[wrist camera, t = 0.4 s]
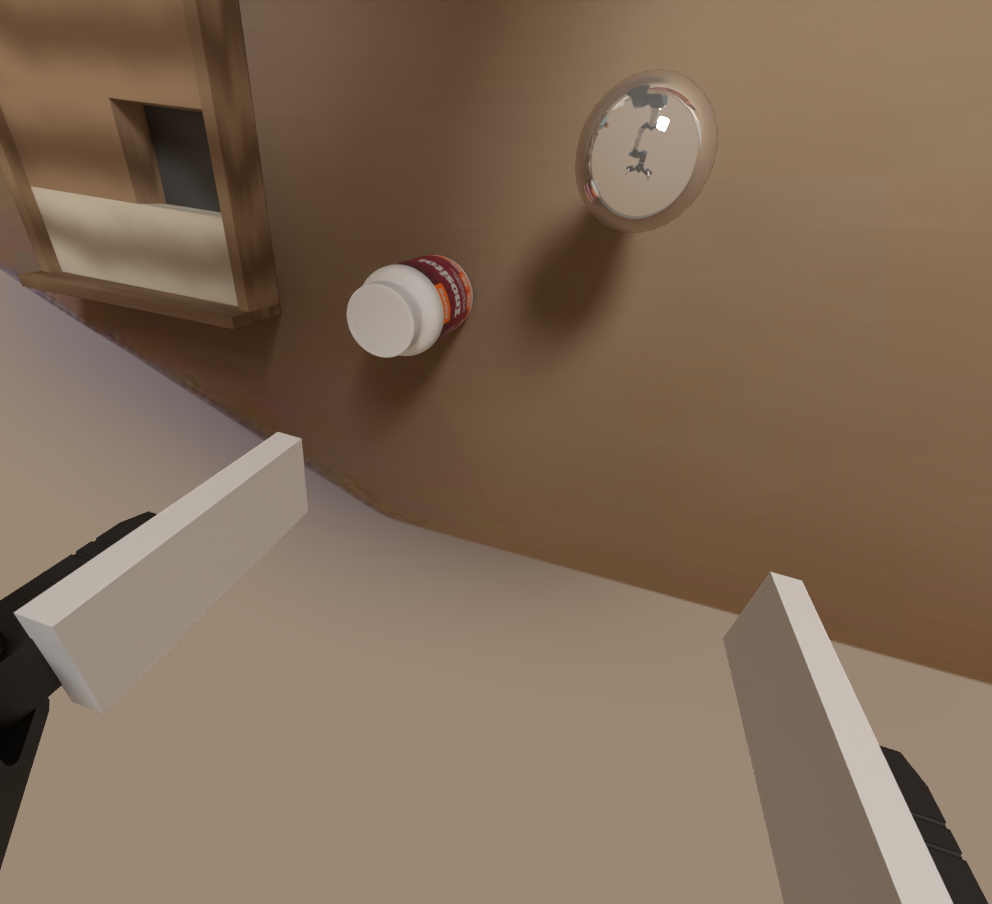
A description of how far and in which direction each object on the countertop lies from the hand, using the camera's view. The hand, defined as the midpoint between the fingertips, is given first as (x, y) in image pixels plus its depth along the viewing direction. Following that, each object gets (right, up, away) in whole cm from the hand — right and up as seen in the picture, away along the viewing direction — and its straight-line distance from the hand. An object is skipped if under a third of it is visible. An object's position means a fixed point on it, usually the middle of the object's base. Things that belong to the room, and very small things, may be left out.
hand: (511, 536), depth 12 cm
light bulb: (+9, +22, +18) cm, 29 cm away
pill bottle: (-5, +16, +25) cm, 30 cm away
